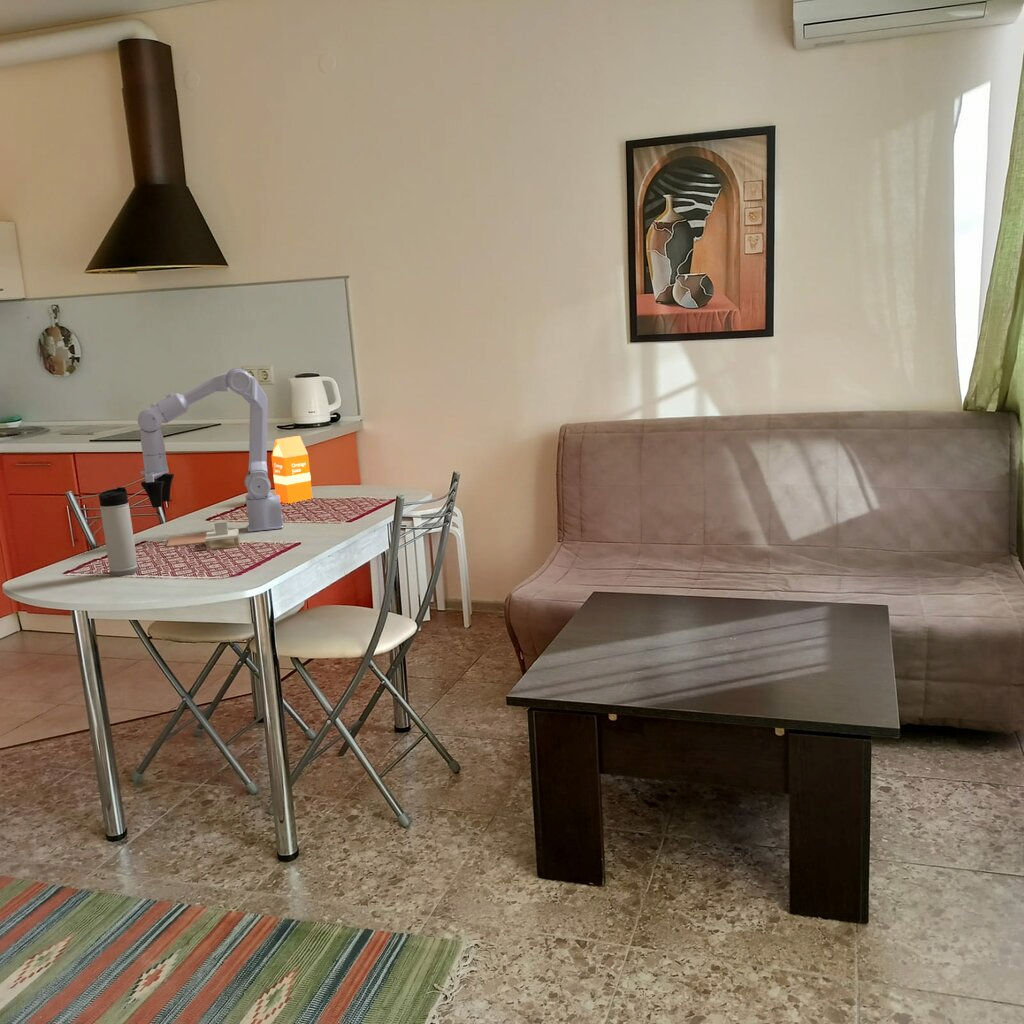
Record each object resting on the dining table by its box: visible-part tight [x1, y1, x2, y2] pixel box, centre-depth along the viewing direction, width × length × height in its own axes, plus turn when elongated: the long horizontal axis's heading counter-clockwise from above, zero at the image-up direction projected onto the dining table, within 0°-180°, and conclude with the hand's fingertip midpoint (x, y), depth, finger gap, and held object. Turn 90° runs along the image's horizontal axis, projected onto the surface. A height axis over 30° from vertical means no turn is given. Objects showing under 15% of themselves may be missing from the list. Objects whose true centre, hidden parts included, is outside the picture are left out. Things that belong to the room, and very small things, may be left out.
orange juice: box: [271, 435, 313, 504], centre depth 308 cm, size 8×9×20 cm
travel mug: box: [98, 486, 139, 577], centre depth 230 cm, size 6×7×20 cm
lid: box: [205, 519, 240, 541], centre depth 253 cm, size 8×8×5 cm
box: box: [205, 532, 240, 551], centre depth 254 cm, size 8×8×2 cm
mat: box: [165, 532, 207, 548], centre depth 261 cm, size 11×11×1 cm
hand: (161, 504), depth 261 cm, fingers open, 7 cm apart
